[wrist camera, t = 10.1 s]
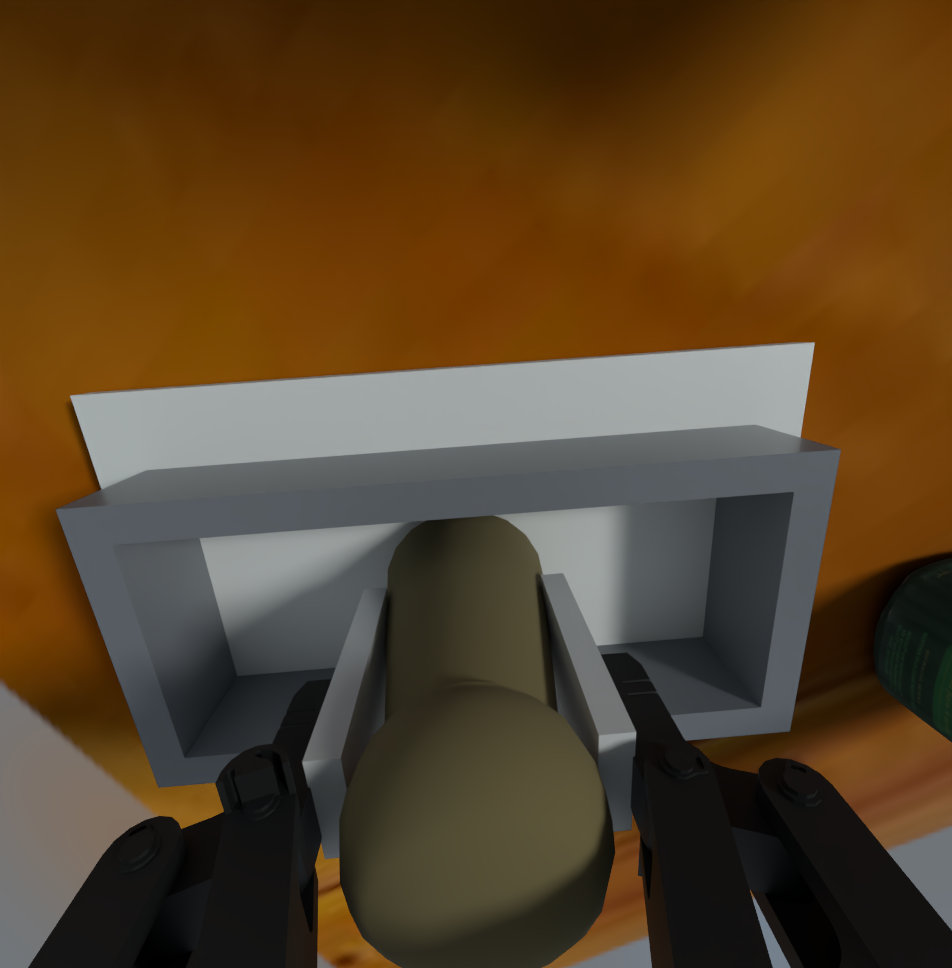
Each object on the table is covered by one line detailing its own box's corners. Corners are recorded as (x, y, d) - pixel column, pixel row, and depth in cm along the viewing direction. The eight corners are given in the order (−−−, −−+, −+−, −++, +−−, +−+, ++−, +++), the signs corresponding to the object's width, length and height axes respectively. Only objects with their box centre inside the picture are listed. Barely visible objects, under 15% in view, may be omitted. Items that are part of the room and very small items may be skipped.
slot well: (201, 736, 22) (129, 849, 17) (92, 392, 17) (-53, 414, 12) (746, 689, 22) (826, 785, 17) (794, 342, 17) (923, 344, 13)
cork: (546, 641, 19) (661, 1023, 8) (398, 656, 19) (326, 1061, 8) (539, 502, 17) (677, 767, 6) (375, 518, 17) (246, 814, 6)
